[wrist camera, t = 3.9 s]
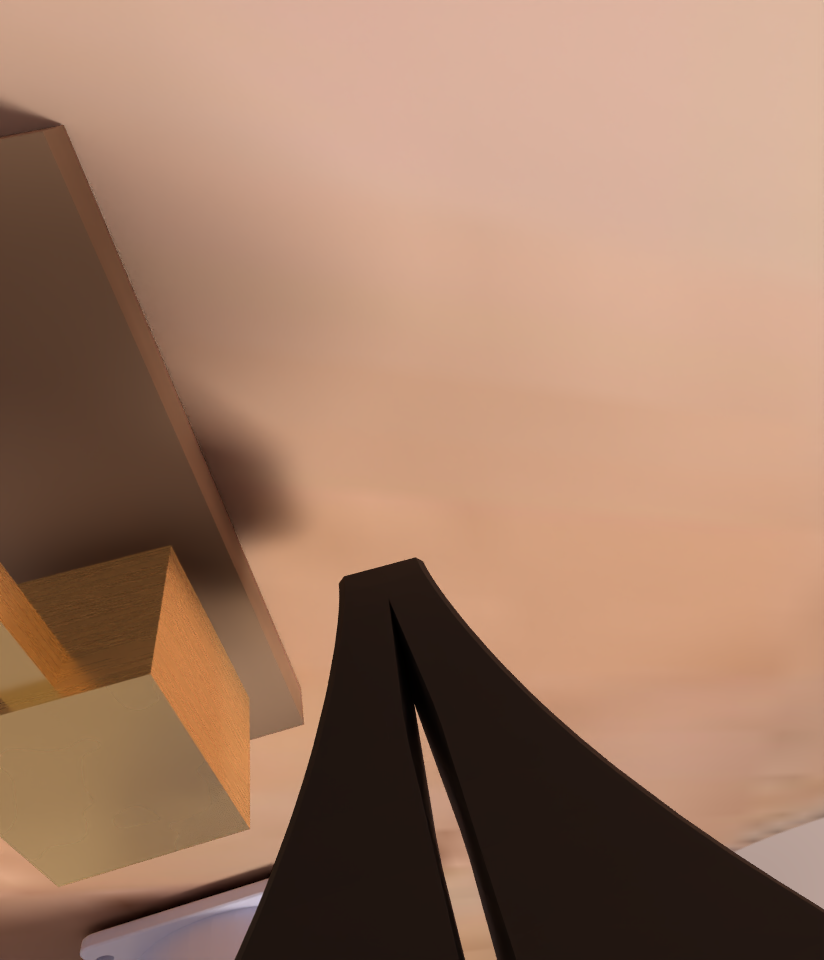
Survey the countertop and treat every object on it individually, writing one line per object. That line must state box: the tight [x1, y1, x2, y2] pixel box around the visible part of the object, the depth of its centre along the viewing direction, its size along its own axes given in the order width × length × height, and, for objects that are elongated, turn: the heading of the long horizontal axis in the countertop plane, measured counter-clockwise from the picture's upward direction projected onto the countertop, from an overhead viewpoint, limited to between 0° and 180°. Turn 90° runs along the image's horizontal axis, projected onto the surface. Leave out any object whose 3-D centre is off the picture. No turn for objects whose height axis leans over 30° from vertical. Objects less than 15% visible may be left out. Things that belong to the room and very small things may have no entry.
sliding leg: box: [0, 545, 250, 887], centre depth 9 cm, size 7×3×2 cm, turn 9°
